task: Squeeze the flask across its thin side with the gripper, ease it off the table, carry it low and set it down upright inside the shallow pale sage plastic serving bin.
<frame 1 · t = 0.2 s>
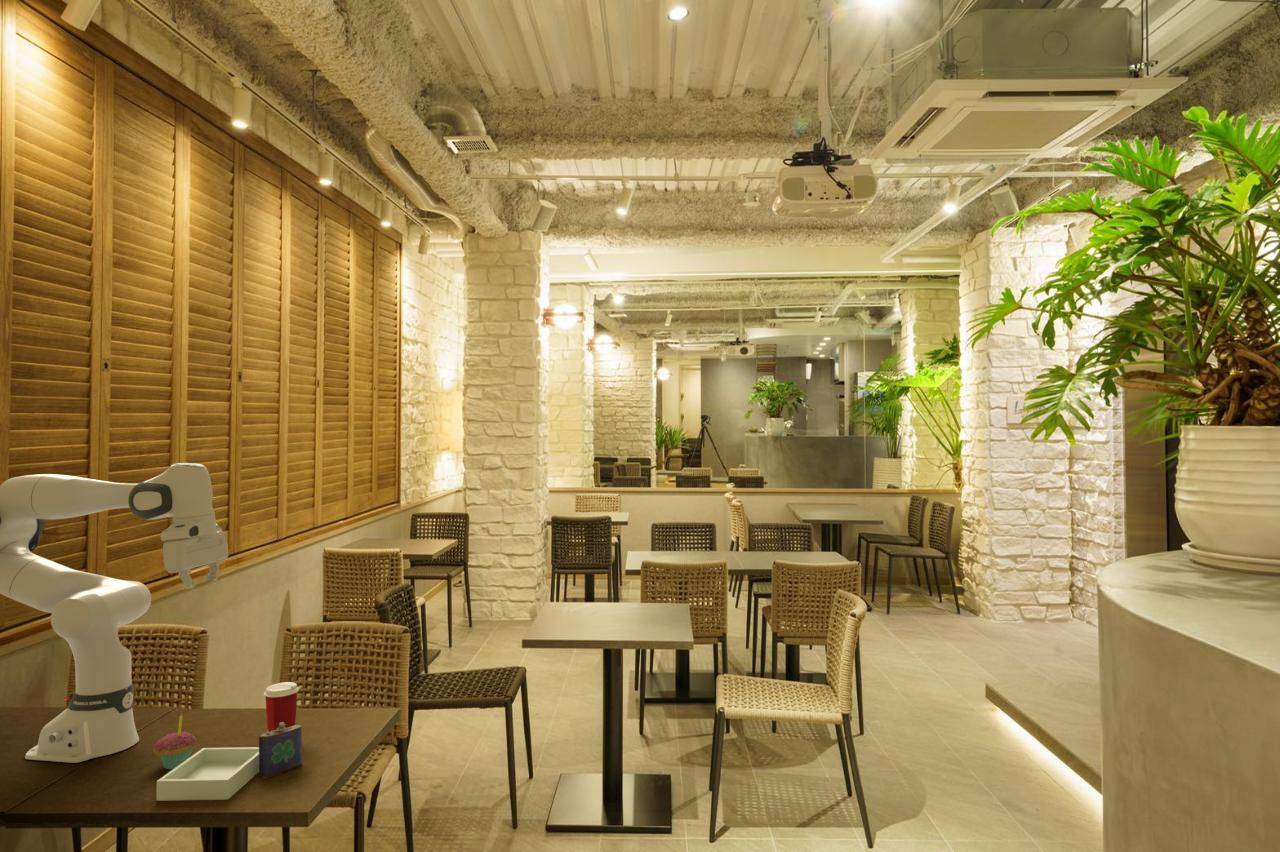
hand: (201, 584, 182), 39 cm above the table, tool pointing down, fingers open, 8 cm apart
flask: (281, 771, 167), on the table
serving bin: (214, 781, 162), on the table
paper cup: (281, 745, 182), on the table
cupcake: (175, 765, 171), on the table
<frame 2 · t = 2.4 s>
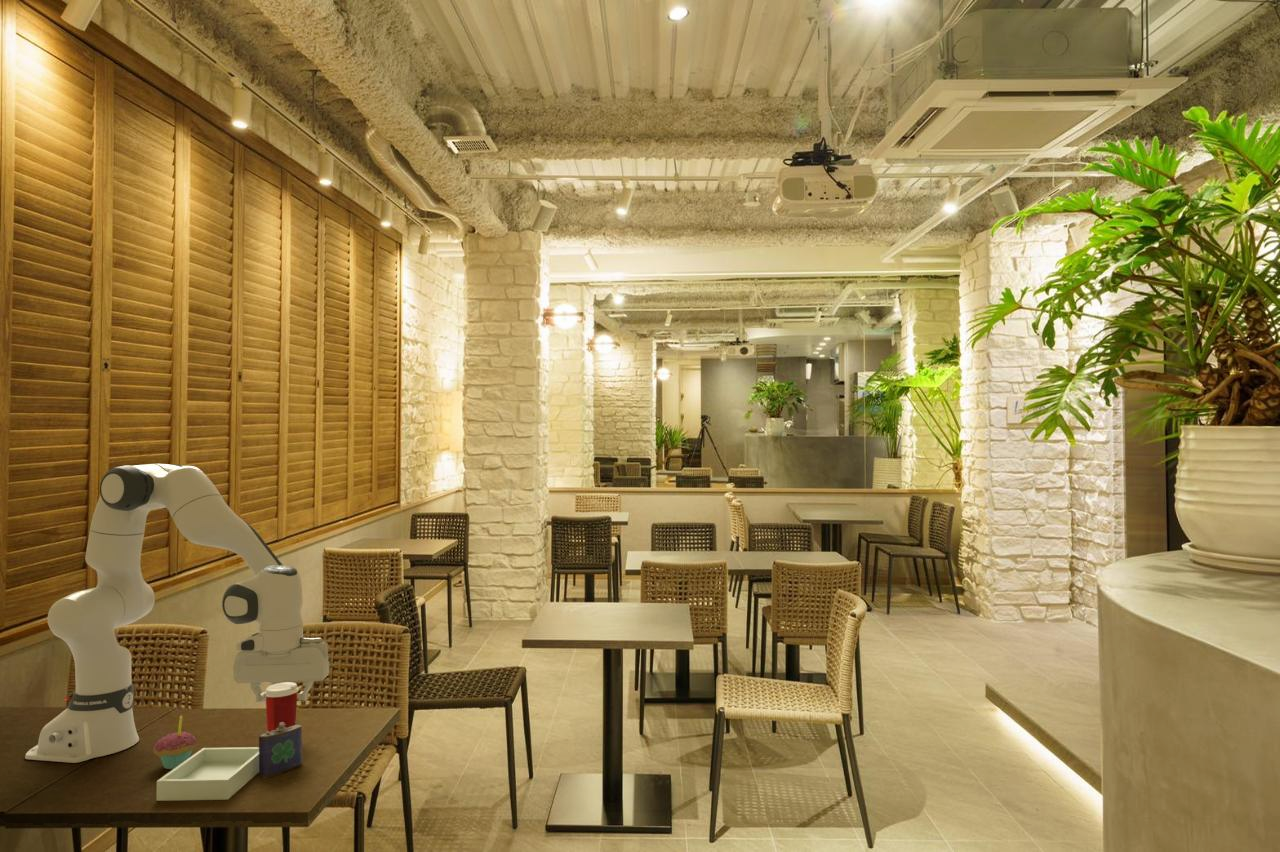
hand: (282, 701, 167), 15 cm above the table, tool pointing down, fingers open, 8 cm apart
nothing on the table moved.
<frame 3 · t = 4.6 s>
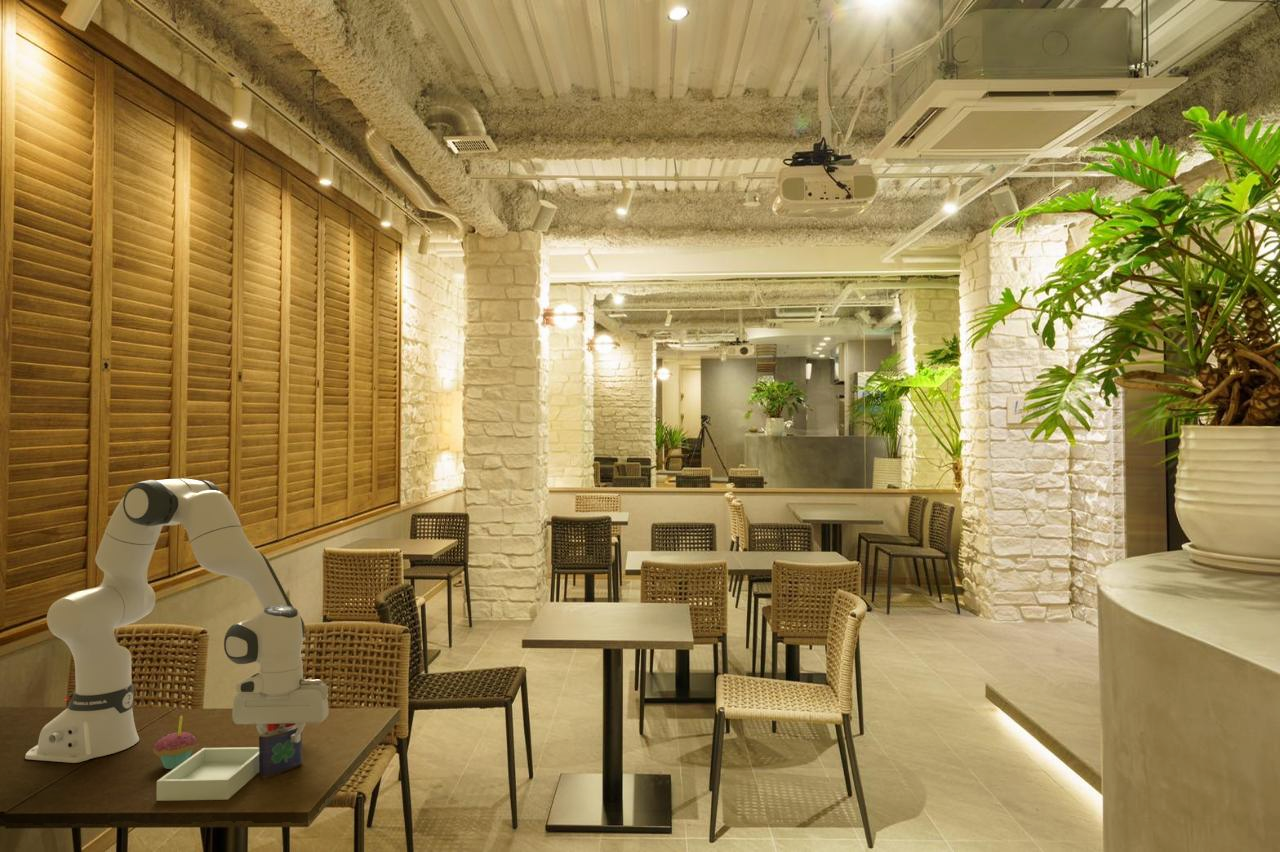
hand: (281, 742, 167), 6 cm above the table, tool pointing down, fingers closed on flask, 5 cm apart
flask: (281, 771, 167), on the table, touching gripper
everything else where it was.
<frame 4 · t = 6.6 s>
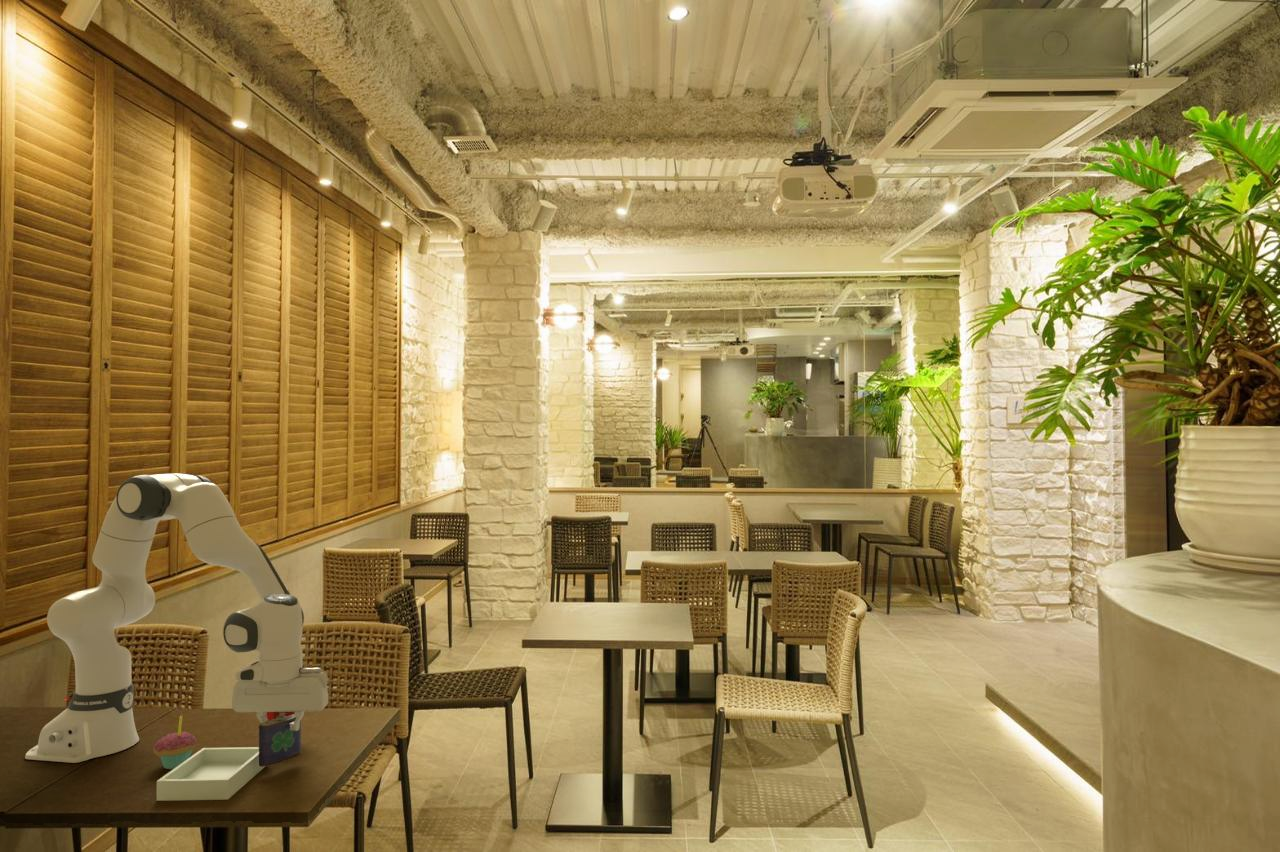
hand: (280, 730, 167), 9 cm above the table, tool pointing down, fingers closed on flask, 5 cm apart
flask: (280, 760, 167), point 2 cm above the table, touching gripper
everything else where it was.
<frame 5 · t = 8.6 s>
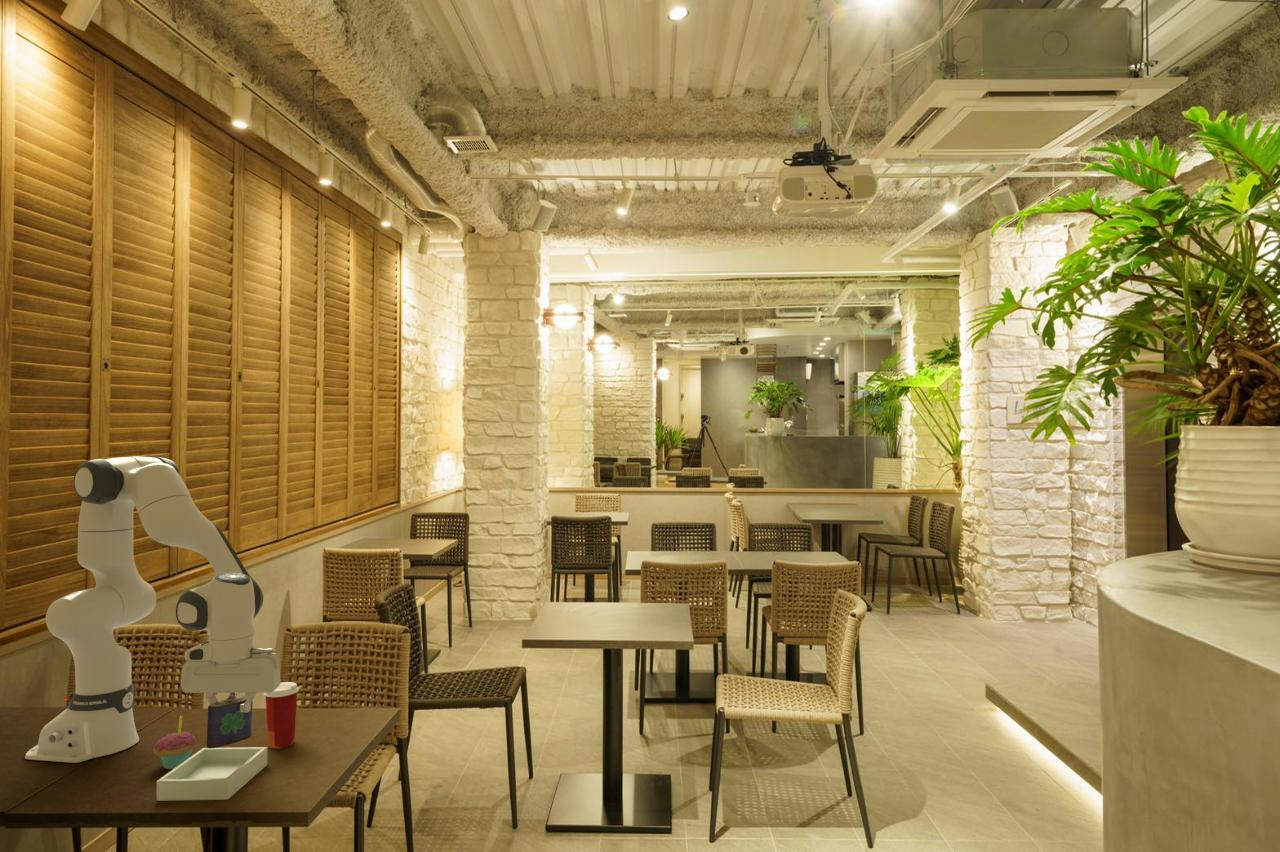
hand: (230, 711, 164), 14 cm above the table, tool pointing down, fingers closed on flask, 5 cm apart
flask: (229, 742, 164), point 8 cm above the table, touching gripper
everything else where it was.
when the fingers open (9 cm above the table, at t = 11.4 s): flask moves 2 cm, resting on serving bin.
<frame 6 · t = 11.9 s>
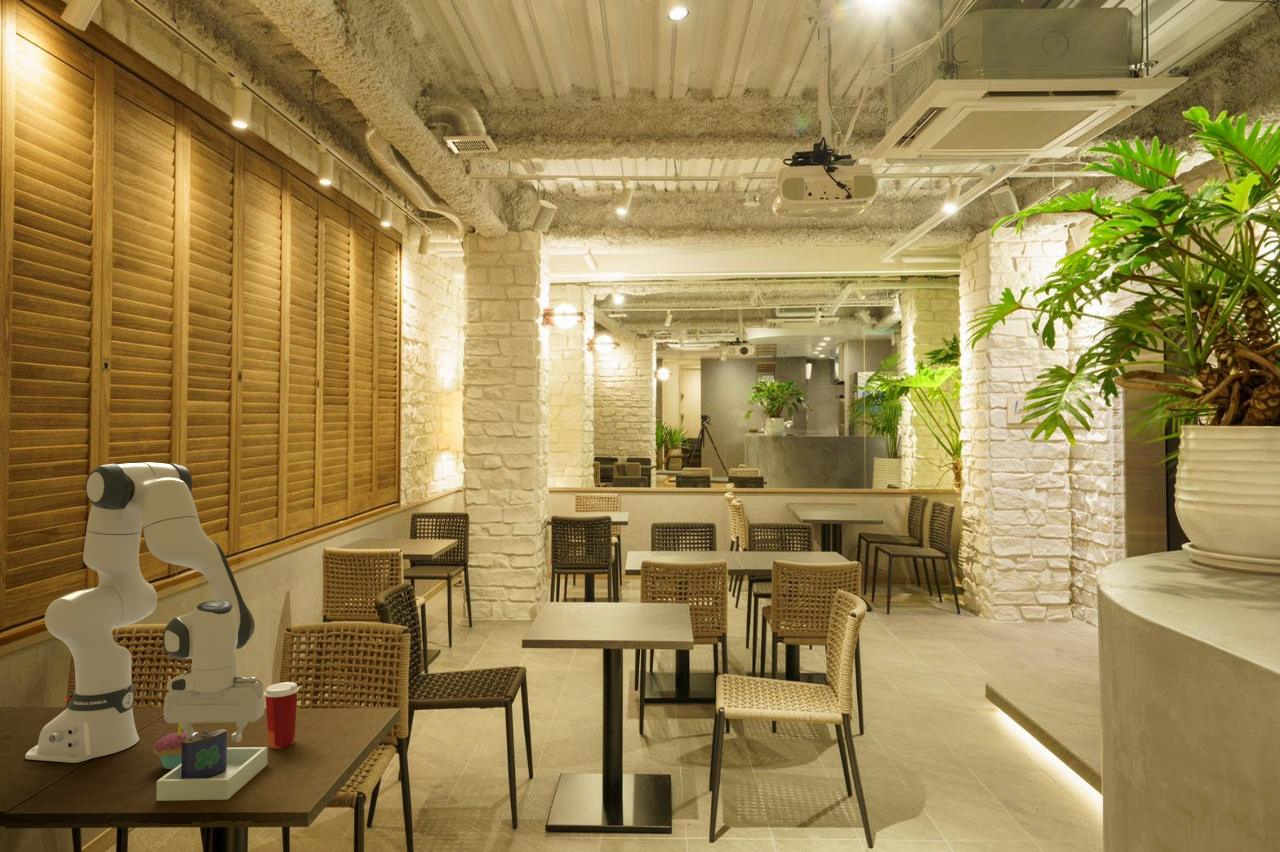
hand: (214, 741, 162), 9 cm above the table, tool pointing down, fingers open, 8 cm apart
flask: (204, 777, 162), point 1 cm above the table, touching gripper, serving bin
everything else where it was.
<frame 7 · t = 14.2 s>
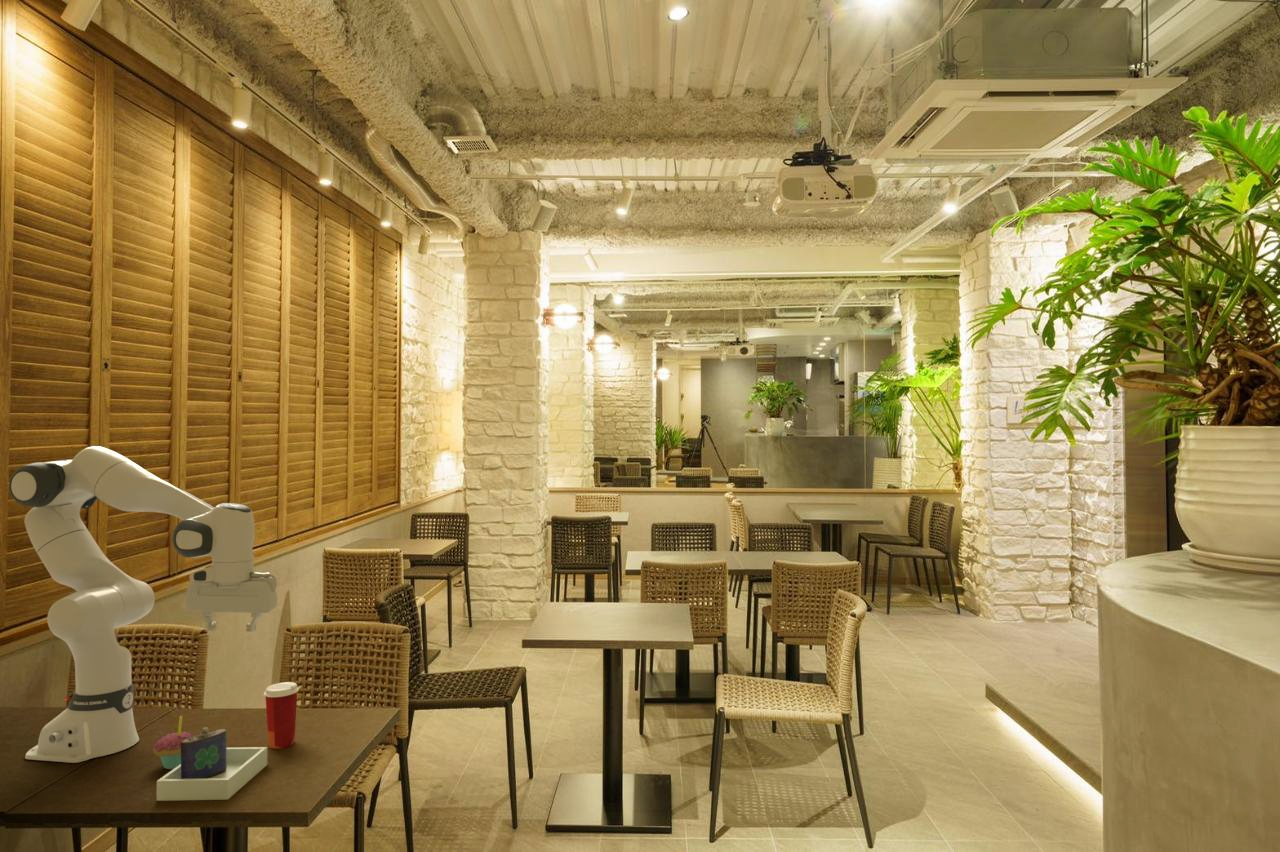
hand: (231, 630, 177), 29 cm above the table, tool pointing down, fingers open, 8 cm apart
flask: (204, 778, 162), point 1 cm above the table, touching serving bin
everything else where it was.
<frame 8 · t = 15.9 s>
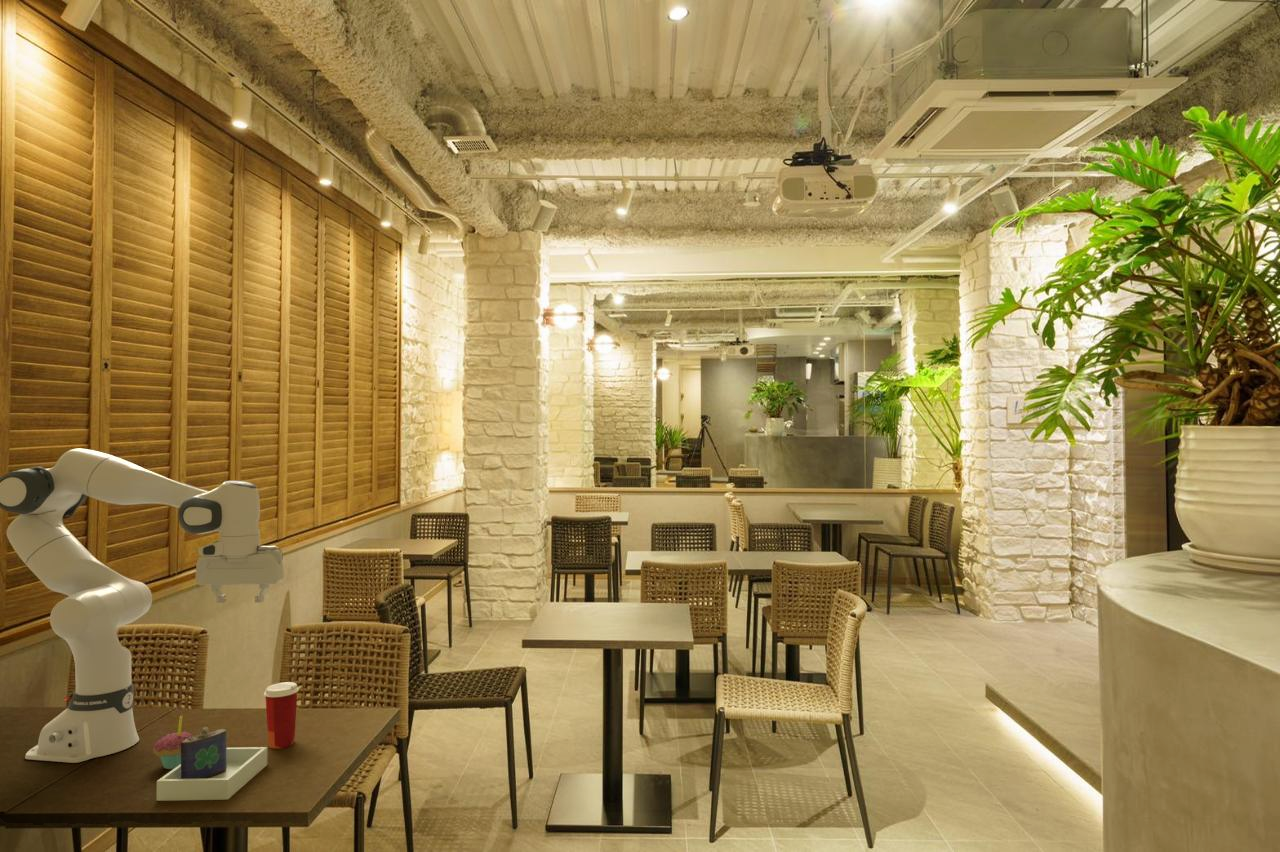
hand: (240, 602, 185), 34 cm above the table, tool pointing down, fingers open, 8 cm apart
nothing on the table moved.
at the end: flask inside the target area on the serving bin (2.2 cm from its centre), point 0.8 cm above the serving bin's base; flask tilted 0°; the gripper is holding nothing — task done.
